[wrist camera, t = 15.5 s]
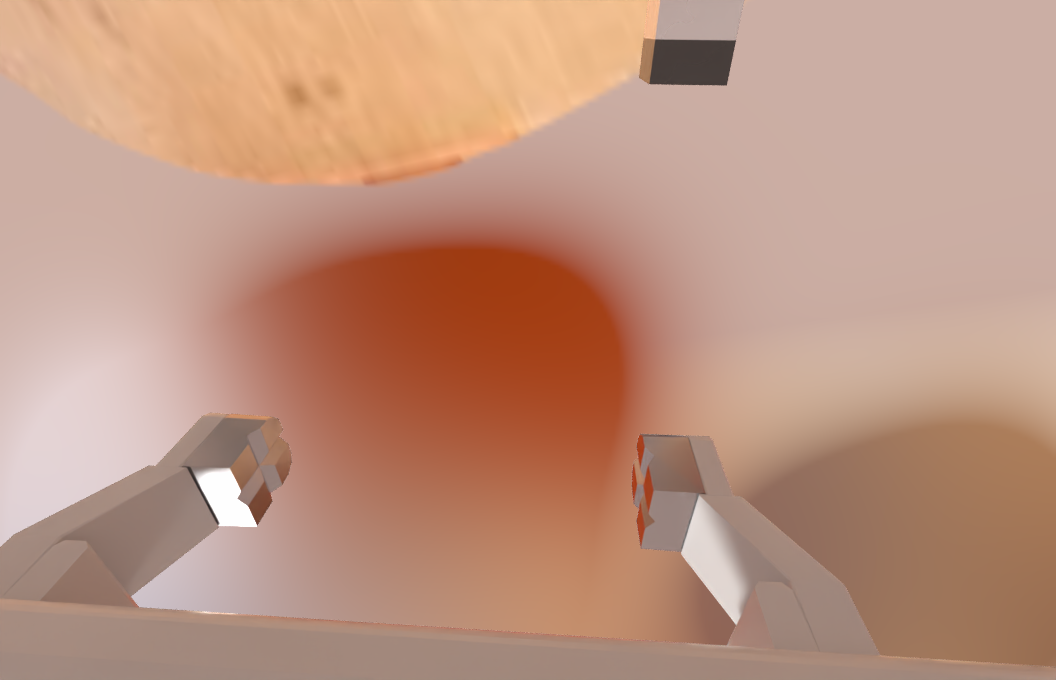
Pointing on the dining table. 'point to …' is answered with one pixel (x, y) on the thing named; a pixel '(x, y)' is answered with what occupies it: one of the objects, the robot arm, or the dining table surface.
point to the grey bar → (689, 41)
